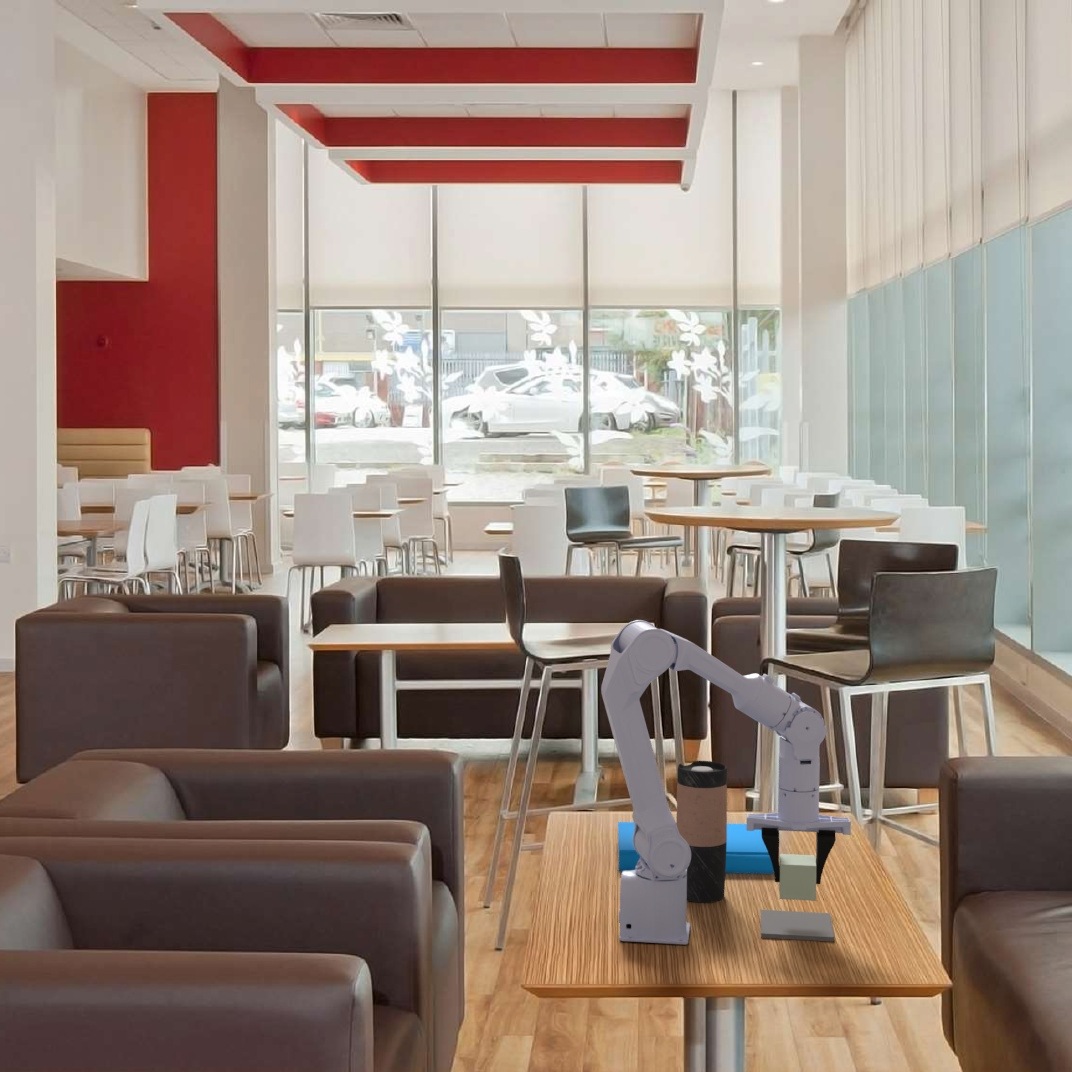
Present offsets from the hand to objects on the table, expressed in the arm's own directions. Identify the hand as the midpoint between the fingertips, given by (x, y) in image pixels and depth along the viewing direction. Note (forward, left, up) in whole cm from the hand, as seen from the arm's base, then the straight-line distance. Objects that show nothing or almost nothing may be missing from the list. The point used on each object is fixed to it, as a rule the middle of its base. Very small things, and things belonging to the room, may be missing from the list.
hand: (797, 881), depth 203 cm
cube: (0, 0, -2) cm, 2 cm away
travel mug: (-14, +12, -7) cm, 20 cm away
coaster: (0, 0, -7) cm, 7 cm away
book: (-16, +31, -7) cm, 36 cm away
